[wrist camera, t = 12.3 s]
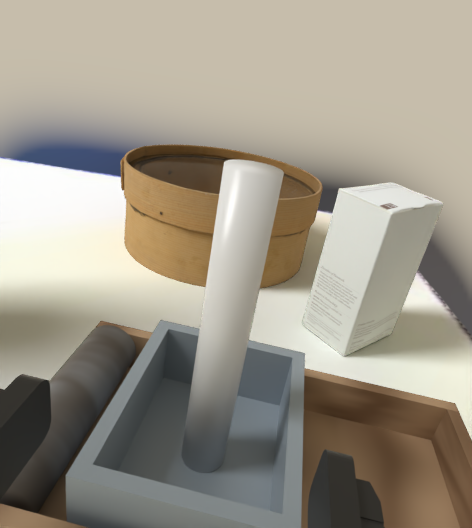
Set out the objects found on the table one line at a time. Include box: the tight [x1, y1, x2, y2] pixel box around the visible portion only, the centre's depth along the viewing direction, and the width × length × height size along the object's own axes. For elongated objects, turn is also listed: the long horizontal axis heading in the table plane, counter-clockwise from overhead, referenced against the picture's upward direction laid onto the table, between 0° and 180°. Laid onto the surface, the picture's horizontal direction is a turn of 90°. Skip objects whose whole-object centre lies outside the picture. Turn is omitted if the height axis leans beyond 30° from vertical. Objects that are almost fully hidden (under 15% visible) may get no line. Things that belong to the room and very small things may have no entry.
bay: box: [0, 321, 472, 528], centre depth 24 cm, size 26×15×5 cm, turn 81°
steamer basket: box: [121, 145, 322, 288], centre depth 55 cm, size 25×25×11 cm
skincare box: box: [302, 182, 444, 356], centre depth 40 cm, size 8×6×15 cm
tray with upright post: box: [66, 160, 305, 528], centre depth 21 cm, size 10×12×18 cm
